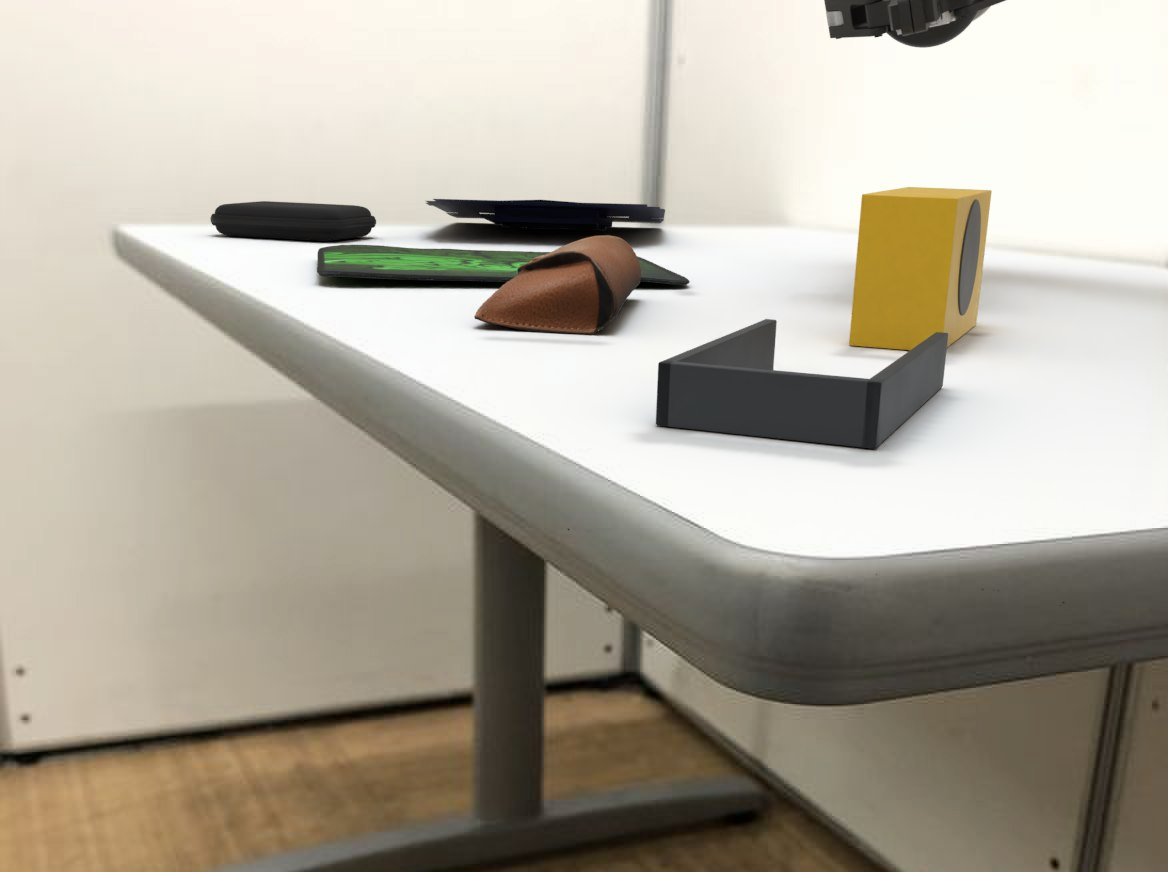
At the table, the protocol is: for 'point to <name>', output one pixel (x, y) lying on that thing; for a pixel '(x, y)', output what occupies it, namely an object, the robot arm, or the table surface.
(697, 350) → the u-shaped bracket
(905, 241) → the tape measure
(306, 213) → the carrying case
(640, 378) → the table surface
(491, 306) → the sunglasses case
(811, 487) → the table surface
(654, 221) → the black angular plate
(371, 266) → the mouse mat
